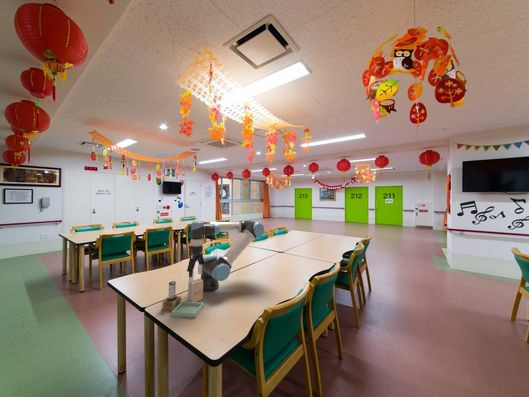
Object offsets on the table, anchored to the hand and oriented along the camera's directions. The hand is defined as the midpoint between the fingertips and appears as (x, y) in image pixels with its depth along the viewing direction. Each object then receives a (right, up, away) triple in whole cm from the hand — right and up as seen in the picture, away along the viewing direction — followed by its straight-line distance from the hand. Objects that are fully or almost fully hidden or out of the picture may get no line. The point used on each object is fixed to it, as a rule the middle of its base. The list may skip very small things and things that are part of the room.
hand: (195, 277), depth 132 cm
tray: (0, -15, -12) cm, 19 cm away
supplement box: (0, -16, 0) cm, 16 cm away
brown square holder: (-12, -15, -8) cm, 21 cm away
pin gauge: (-12, -15, -8) cm, 21 cm away
